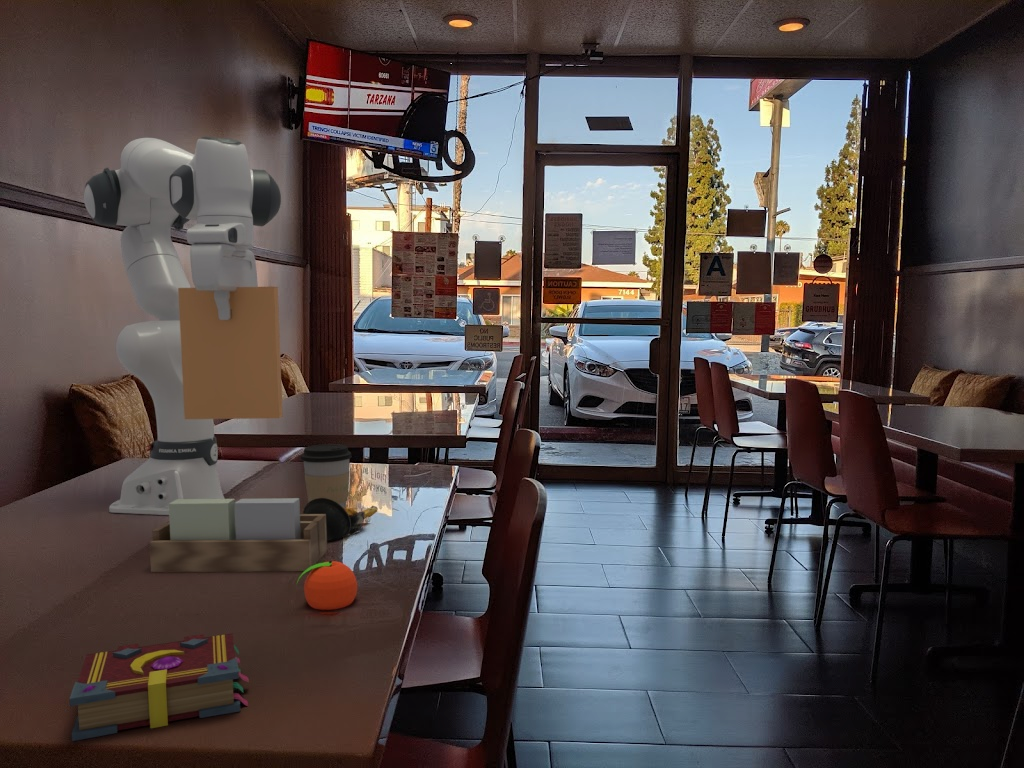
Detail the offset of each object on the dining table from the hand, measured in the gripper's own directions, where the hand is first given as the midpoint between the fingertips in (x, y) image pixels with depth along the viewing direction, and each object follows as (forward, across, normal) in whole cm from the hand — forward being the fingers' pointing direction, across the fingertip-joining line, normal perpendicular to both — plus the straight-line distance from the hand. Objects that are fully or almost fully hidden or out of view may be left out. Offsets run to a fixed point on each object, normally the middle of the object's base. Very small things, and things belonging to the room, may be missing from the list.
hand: (229, 319), depth 136 cm
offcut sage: (+38, +15, 0) cm, 40 cm away
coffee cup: (+39, -14, +12) cm, 43 cm away
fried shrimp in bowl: (+39, -5, +17) cm, 43 cm away
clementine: (+39, +31, +23) cm, 55 cm away
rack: (+39, +12, +5) cm, 41 cm away
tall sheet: (+17, 0, 0) cm, 17 cm away
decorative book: (+39, +55, +12) cm, 69 cm away
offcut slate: (+38, +15, +10) cm, 41 cm away
